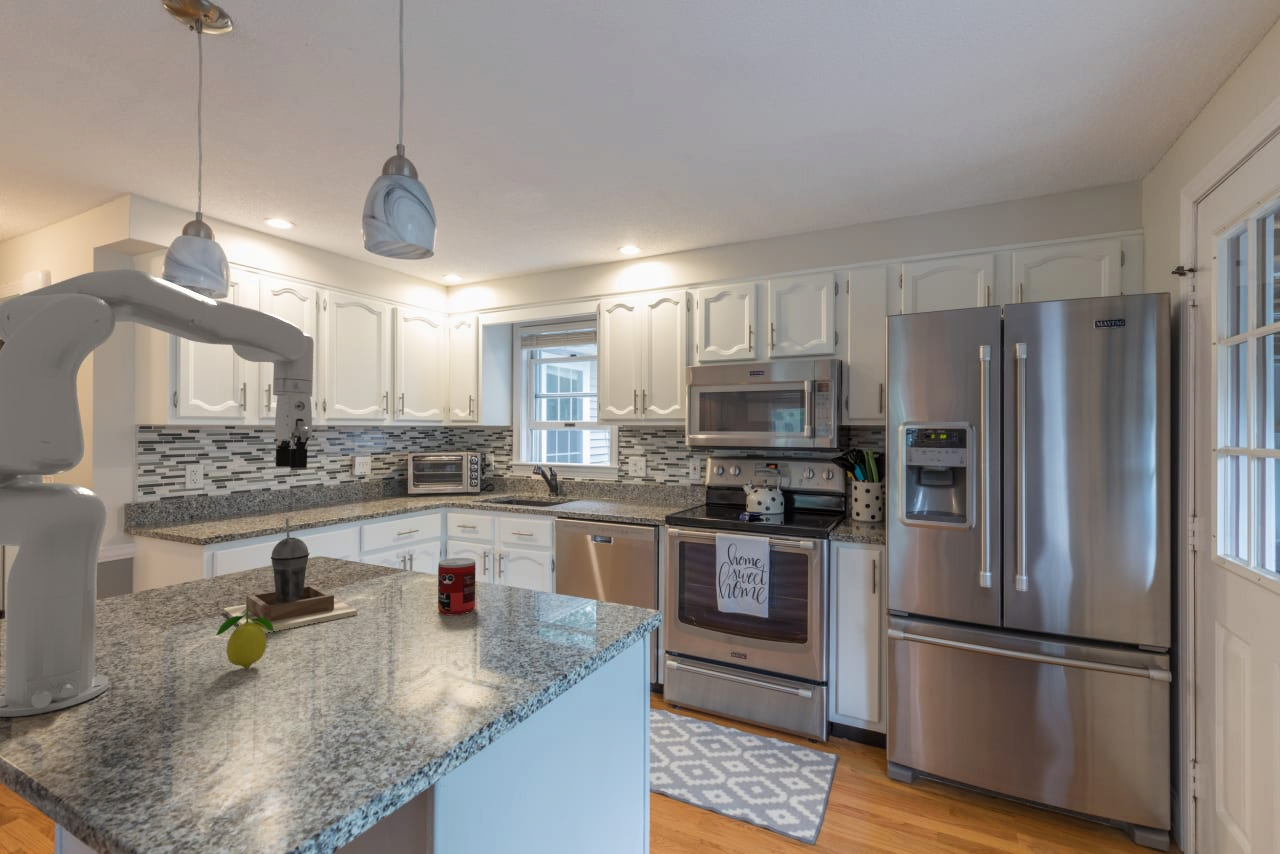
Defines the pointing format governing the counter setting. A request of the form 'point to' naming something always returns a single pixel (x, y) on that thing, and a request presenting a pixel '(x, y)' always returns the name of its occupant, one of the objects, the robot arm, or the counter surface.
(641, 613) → the counter surface
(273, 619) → the cup holder
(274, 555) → the beverage cup
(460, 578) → the canned food
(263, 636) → the lemon
